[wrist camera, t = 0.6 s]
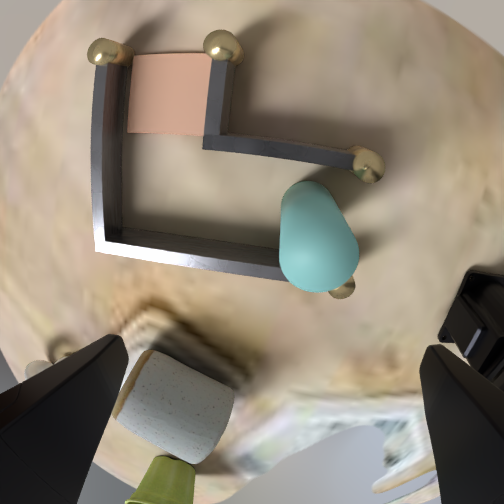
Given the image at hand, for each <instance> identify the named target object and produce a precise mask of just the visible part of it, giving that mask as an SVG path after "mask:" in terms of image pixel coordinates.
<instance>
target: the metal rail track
mask: <svg viewBox="0 0 504 504" xmlns="http://www.w3.org/2000/svg"><path fill="white" fill-rule="evenodd" d="M203 48H204V51H205V53H206V54H207V55H208V56H209V57H211V58H212V62H211V70H210V78H209V87H208V96H207V105H206V115H205V125H204V136H203V147H202V149H205V150H216V151H226V152H235V153H244V154H252V155H260V156H268V157H275V158H282V159H289V160H296V161H302V162H308V163H314V164H320V165H326V166H331V167H337V168H342V169H347V170H350V171H351V172H352V173H354V174H355V175H356V176H357V177H358V178H359V179H360V180H362V181H363V182H366V183H375V182H377V181H379V180H380V179H381V178H382V177H383V175H384V172H385V163H384V160H383V158H382V157H381V156H380V155H379V154H377V153H375V152H373V151H370V150H368V149H366V148H363V147H361V146H352V147H350V148H349V149H348V150H343V149H338V148H333V147H327V146H322V145H316V144H310V143H304V142H298V141H291V140H285V139H278V138H270V137H262V136H254V135H245V134H236V133H228V126H229V117H230V108H231V99H232V90H233V82H234V74H235V67H236V66H237V65H239V64H240V63H241V62H242V60H243V58H244V52H243V49H242V48H241V46H240V45H239V43H238V41H237V40H236V38H235V37H234V35H233V34H232V33H230V32H229V31H226V30H216V31H213V32H211V33H210V34H208V35H207V37H206V38H205V40H204V43H203ZM134 56H135V53H134V50H133V49H132V48H131V47H129V46H127V45H124V44H121V43H118V42H115V41H112V40H109V39H106V38H99V39H97V40H95V41H94V42H93V43H92V44H91V45H90V47H89V49H88V52H87V57H88V60H89V62H90V63H92V64H95V65H96V71H95V80H94V91H93V105H92V123H91V193H92V212H93V226H94V238H95V248H96V251H98V252H103V253H109V254H115V255H120V256H126V257H132V258H138V259H144V260H150V261H156V262H162V263H168V264H174V265H180V266H187V267H193V268H199V269H206V270H212V271H218V272H225V273H232V274H238V275H245V276H252V277H259V278H265V279H272V280H279V281H286V282H290V281H289V280H288V279H287V278H286V277H285V275H284V274H283V272H282V269H281V267H280V262H279V250H280V249H273V248H266V247H259V246H252V245H245V244H238V243H231V242H224V241H217V240H210V239H203V238H196V237H189V236H182V235H174V234H167V233H160V232H153V231H146V230H138V229H131V228H124V227H122V193H121V166H122V132H123V114H124V101H125V89H126V79H127V70H128V67H129V66H130V65H131V64H132V62H133V59H134ZM354 290H355V282H354V279H353V276H351V277H350V278H349V279H348V280H347V281H346V282H345V283H344V284H343V285H341V286H339V287H338V288H336V289H333V290H330V291H328V292H329V294H330V295H331V296H332V297H334V298H336V299H344V298H347V297H349V296H350V295H351V294H352V293H353V292H354Z"/></svg>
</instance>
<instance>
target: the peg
mask: <svg viewBox="0 0 504 504" xmlns="http://www.w3.org/2000/svg"><path fill="white" fill-rule="evenodd" d="M358 261H359V247H358V243H357V241H356V239H355V237H354V235H353V233H352V231H351V229H350V227H349V226H348V224H347V222H346V220H345V218H344V217H343V215H342V213H341V211H340V209H339V208H338V206H337V204H336V202H335V201H334V199H333V197H332V195H331V194H330V192H329V191H328V190H327V189H326V188H325V187H324V186H323V185H321V184H319V183H317V182H313V181H303V182H299V183H296V184H294V185H293V186H291V187H290V188H289V189H288V190H287V191H286V193H285V194H284V196H283V199H282V202H281V224H280V250H279V262H280V267H281V269H282V272H283V274H284V275H285V277H286V278H287V279H288V280H289V281H290V282H291V283H292V284H293V285H294V286H296V287H298V288H300V289H302V290H305V291H309V292H327V291H330V290H333V289H336V288H338V287H339V286H341V285H343V284H344V283H345V282H346V281H347V280H348V279H349V278H350V277H351V276H352V275H353V273H354V271H355V270H356V267H357V265H358Z"/></svg>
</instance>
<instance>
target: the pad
mask: <svg viewBox="0 0 504 504" xmlns="http://www.w3.org/2000/svg"><path fill="white" fill-rule="evenodd" d="M211 62H212V58H211V57H209V56H208V55H207V54H206V53H173V54H150V55H136V56H134V59H133V67H132V76H131V86H130V97H129V109H128V125H127V133H160V134H180V135H196V136H204V125H205V115H206V105H207V96H208V87H209V78H210V70H211Z"/></svg>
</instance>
